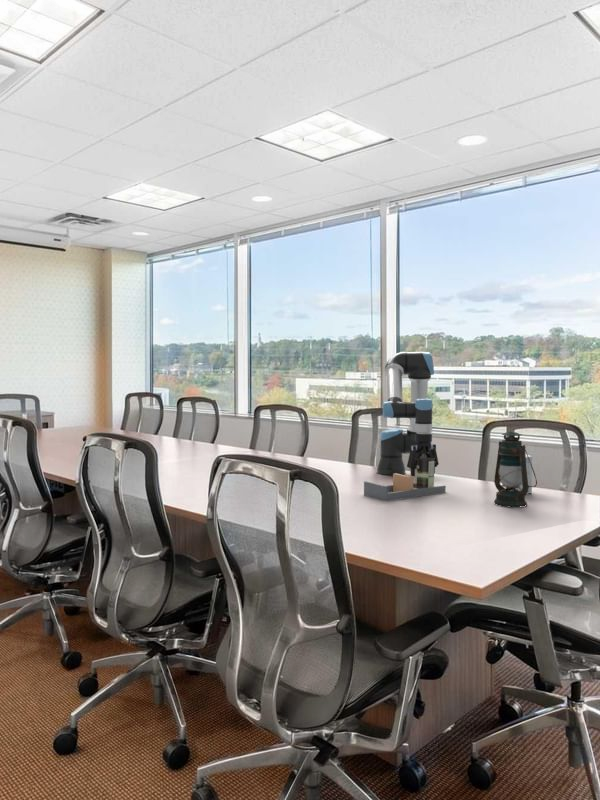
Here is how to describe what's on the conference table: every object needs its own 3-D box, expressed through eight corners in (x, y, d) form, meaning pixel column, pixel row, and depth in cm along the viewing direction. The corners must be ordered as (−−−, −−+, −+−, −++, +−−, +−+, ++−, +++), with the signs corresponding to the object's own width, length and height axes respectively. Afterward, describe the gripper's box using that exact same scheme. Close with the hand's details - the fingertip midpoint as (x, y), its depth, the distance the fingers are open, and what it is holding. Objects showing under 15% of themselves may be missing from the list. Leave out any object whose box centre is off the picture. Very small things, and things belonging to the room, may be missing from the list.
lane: (422, 487, 289) (422, 474, 289) (445, 492, 277) (445, 479, 277) (363, 495, 270) (364, 481, 269) (385, 500, 258) (385, 486, 257)
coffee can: (417, 491, 273) (418, 459, 272) (407, 486, 282) (407, 456, 282) (438, 489, 276) (439, 458, 275) (427, 485, 286) (427, 455, 285)
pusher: (395, 491, 278) (395, 473, 277) (413, 495, 268) (413, 477, 268) (392, 491, 277) (393, 473, 276) (410, 495, 267) (410, 477, 267)
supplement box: (526, 490, 283) (527, 453, 282) (532, 494, 274) (533, 456, 273) (505, 489, 284) (506, 453, 283) (510, 493, 275) (510, 456, 274)
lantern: (482, 500, 259) (483, 429, 258) (509, 498, 265) (511, 428, 263) (514, 510, 241) (515, 433, 240) (543, 507, 247) (544, 432, 245)
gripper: (435, 431, 287) (434, 478, 288) (399, 433, 275) (398, 483, 276) (447, 432, 281) (446, 481, 282) (410, 435, 269) (410, 485, 270)
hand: (422, 482), depth 279 cm, fingers closed on coffee can, 10 cm apart
